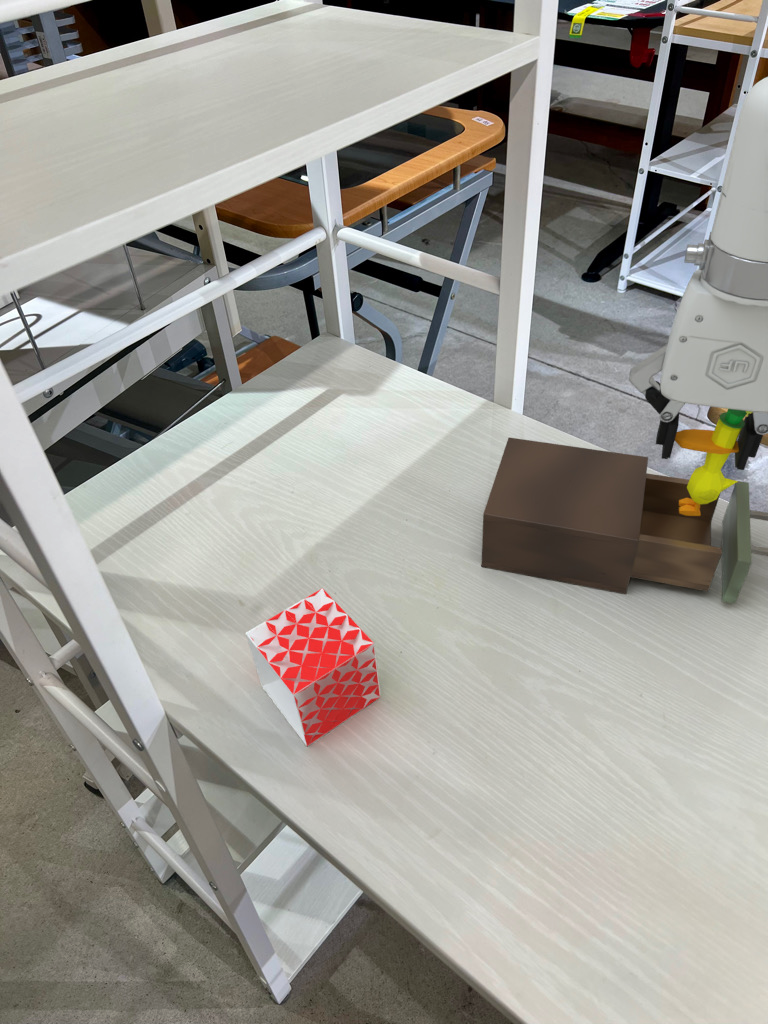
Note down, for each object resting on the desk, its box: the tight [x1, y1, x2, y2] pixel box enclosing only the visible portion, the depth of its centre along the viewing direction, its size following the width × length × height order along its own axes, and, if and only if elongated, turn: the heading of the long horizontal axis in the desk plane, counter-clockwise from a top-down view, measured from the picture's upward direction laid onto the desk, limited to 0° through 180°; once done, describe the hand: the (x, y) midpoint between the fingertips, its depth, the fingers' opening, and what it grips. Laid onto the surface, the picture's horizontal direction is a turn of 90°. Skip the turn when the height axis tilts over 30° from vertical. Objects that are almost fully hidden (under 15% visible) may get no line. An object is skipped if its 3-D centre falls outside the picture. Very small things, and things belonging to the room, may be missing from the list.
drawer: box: [630, 473, 768, 605], centre depth 74 cm, size 18×11×6 cm, turn 72°
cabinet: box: [480, 436, 649, 595], centre depth 77 cm, size 15×13×8 cm
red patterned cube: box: [244, 587, 382, 747], centre depth 65 cm, size 8×8×8 cm
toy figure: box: [674, 409, 748, 516], centre depth 68 cm, size 7×4×12 cm, turn 76°
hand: (702, 453), depth 68 cm, fingers closed on toy figure, 5 cm apart
